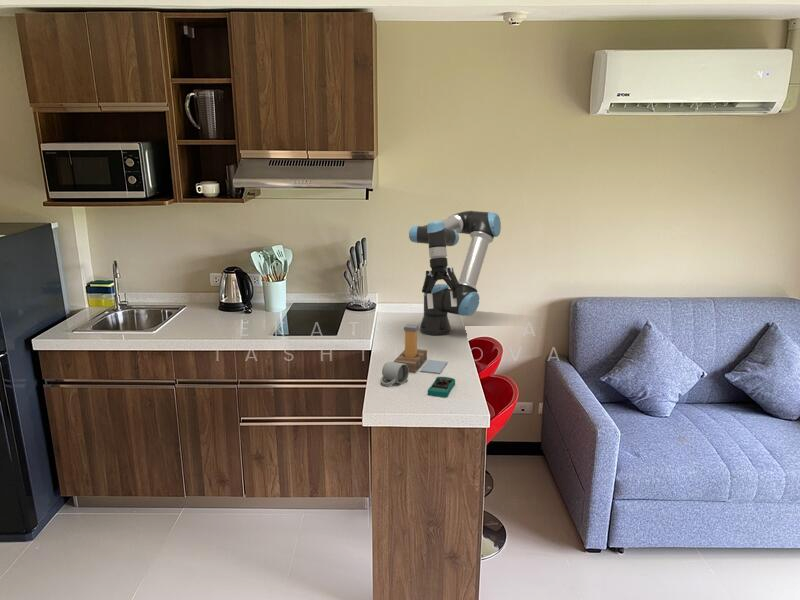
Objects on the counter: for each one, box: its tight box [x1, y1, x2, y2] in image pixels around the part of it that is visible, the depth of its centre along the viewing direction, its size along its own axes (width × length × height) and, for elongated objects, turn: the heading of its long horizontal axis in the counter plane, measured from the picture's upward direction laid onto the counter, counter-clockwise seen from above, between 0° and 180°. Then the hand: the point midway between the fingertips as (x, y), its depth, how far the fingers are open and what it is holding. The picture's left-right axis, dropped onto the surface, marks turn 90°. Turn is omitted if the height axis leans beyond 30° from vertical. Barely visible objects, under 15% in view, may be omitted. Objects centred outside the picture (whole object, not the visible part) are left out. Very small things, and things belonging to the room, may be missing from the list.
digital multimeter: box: [427, 376, 456, 398], centre depth 222 cm, size 7×15×3 cm, turn 163°
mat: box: [419, 359, 449, 375], centre depth 245 cm, size 14×8×1 cm, turn 162°
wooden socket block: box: [393, 348, 428, 374], centre depth 248 cm, size 18×9×4 cm, turn 163°
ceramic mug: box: [380, 361, 410, 387], centre depth 228 cm, size 11×8×8 cm
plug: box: [403, 323, 420, 358], centre depth 246 cm, size 5×5×17 cm
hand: (442, 307), depth 255 cm, fingers open, 13 cm apart
